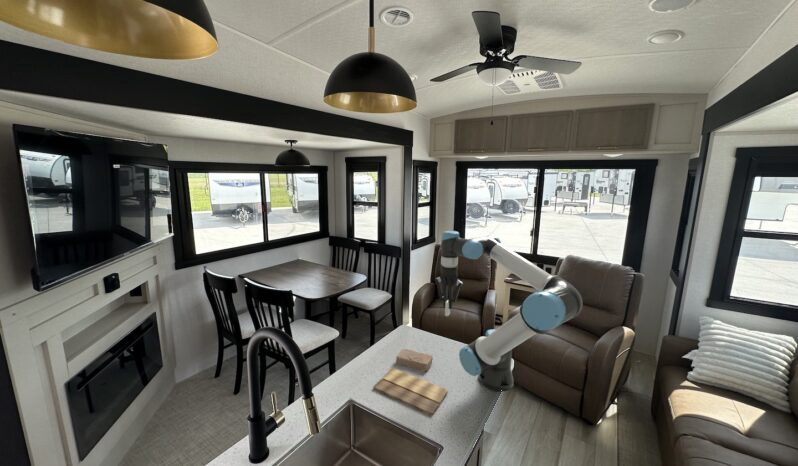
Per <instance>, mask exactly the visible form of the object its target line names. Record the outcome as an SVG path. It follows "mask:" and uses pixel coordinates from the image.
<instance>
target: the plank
mask: <svg viewBox="0 0 798 466" xmlns="http://www.w3.org/2000/svg"><path fill="white" fill-rule="evenodd" d="M381 379H382V380H385V381H387V382H389V383H392V384H394V385H396V386H399V387H401V388H403V389H405V390H408V391H410V392H412V393H415V394H417V395H419V396H422V397H424V398H426V399H428V400H431V401H433V402H435V403H438V404H439V406H440V405H441V404H442V403H443V400H444V399H445V398H446V396H447V394H448V389H446V388H444V387H441V386H438V385H436V384H434V383H431V382H429V381H426V380H424V379H421V378H419V377H416V376H413V375H412V374H409V373H406V372H404V371H401V370H399V369H396V368H394V367H391V368H390V369H389V370H388V371H387V373H385V374H384V376H383V377H382V378H381Z"/></svg>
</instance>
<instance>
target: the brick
mask: <svg viewBox="0 0 798 466" xmlns="http://www.w3.org/2000/svg"><path fill="white" fill-rule="evenodd" d="M395 357H396V358H395V363H396V364H398V365H400V366H405V367H409V368H412V369H415V370H419V371H422V372H427V371H429V369H430V368H431V367H432V364H433V359H434V358H433V355H431V354H428V353H421V352H418V351H416V350H415V351H414V350H411V349H408V348H402V349H401V350H400V351H399V352H398V354H397V355H396V356H395Z"/></svg>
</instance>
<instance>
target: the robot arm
mask: <svg viewBox="0 0 798 466" xmlns="http://www.w3.org/2000/svg"><path fill="white" fill-rule="evenodd" d="M440 241H441V255H440V256H441V258H440V274H439V277H435V279H434V282H435V284H436V287H437V293H438V296H439V297H438V298H439V300H442V301H443V306H442V307H443V308H444V316H446V317H449V316H450V314H451V310H452V308H453V303H455V302H456V301H457V300H458V296H459V293H460V289H461V286H462V285H463V284H464V282H463V281H461V280H460V279H459V276H458V272H459V271H458V270H459V267H458V264H459V256H460V257H464V258H465V259H466V258H467V259H470V260H478V259H479V258H480V257H481V256H483V255H486V256H487V257H488V258H490V259H492V260H494V261H495V262H496V263H498V264H499V265H501V266H502V267H503V268H505V269H506V270H508V271H510V273H512V274H513V275H515V276H516V277H518V278H519V279H521V281H523V282H525V283H526V284H528V285H530V286H531V287H532V288H533V289H535V290H536V292H533V293H531V294H530V295H529V296H527V297H526V298H525V300H524V301H523V303H522V304H521V305H520V307H519V311H518V312H517V313H516V315H514V316H513V317H511V318H510V319H508V320H507V321H506V322H505V323H504V324H502V325H501V326H499V327H497V328H496V329H488V330H486V332H485V336H480V337H478V338H476V339H475V340H474V341H472V342H471V343H469V344H467V345H464V346H463V347H462V348H460V350H459V352H458V356H459V357H458V358H459V363H460V365H461V366H462V368H463V370H464V371H465V372H466V373H467V374H469V376H472V377H476V376H478V381H479V382H480V383H481V385H482V386H483V387H485V388H487V389H489V390H491V391H495V392H507V391H510V390H511V389H513V387H514V381H515V380H514V376H513V371H512V367H511V366H512V358H513V349H515V347H517V346H519V345H521V344H522V343H524V342H525V341H527V340H528V339H530V338H531V337H533V336H535V335H536V334H537V335H540V336H542V335H545V334H547V333H549V332H550V331H552V330H553V329H555V328H557V327H559V326H561V325H562V324H563V323H566V322H568V321H570V320H572V319H573V318H575V317H577V316H578V315H579V314H580V313H581V311H582V309H583V303H584V302H583V297H582V295H581V294H580V292H579V290H578V289H576V288H575V286H573V284H571V283H570V282H568V281H567V280H566V279H564V278H562V277H560V276H559V275H556V274H555V275H552V274H550V273H548V272H547V271H546V270H544V269H542V268H540V267H539V266H537V265H536V264H535V263H532V262H531V261H530V260H528V259H526V258H524V257H523V256H521V255H520V254H519V253H516V252H515V251H513V250H512V249H510V248H508V246H505V245H504V244H503V243H502V241H501V240H500V238H499V237H498V236H497V235H496V236H495V235H486V236H481V237H474V238H462V237H460V232H459V231H456V230H445V231H443V232H442V234H441V240H440ZM442 284H443V286H442ZM455 284H456V287H455V291H454V286H455ZM501 390H502V391H501Z"/></svg>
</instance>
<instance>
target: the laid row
mask: <svg viewBox="0 0 798 466" xmlns="http://www.w3.org/2000/svg"><path fill="white" fill-rule="evenodd" d="M372 389H373V390H375V391H377V392H379V393H381V394H383V395H386V396H387V397H390V398H391V399H394V400H396V401H398V402H401V403H403V404H404V405H407V406H409V407H410V408H414V409H416V410H418V411H419V412H422V413H424V414H426V415H428V416H431V417H433V416H434V415H435V413H436V411H438V408H439V407H440V405H439V404H438V403H435V402H433V401H431V400H428V399H426V398H424V397H422V396H419V395H417V394H415V393H412V392H410V391H408V390H405V389H403V388H401V387H399V386H396V385H394V384H392V383H389V382H387V381H385V380H382V378H381V379H379V380H378V381H377V382H376V383H375V384H374V385H373V386H372Z"/></svg>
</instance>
